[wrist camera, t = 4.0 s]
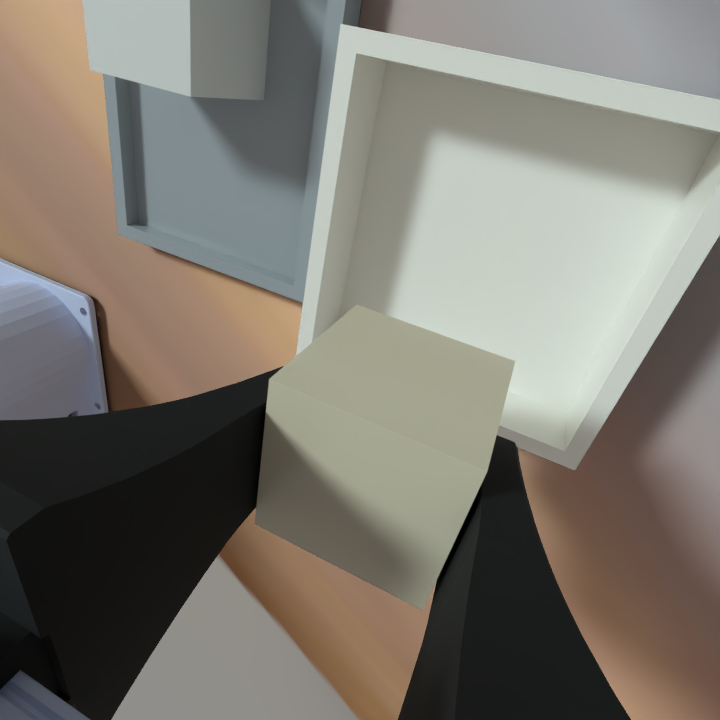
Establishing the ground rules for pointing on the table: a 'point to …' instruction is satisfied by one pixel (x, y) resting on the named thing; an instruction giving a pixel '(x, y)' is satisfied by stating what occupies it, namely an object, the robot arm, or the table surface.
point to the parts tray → (233, 157)
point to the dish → (513, 218)
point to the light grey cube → (182, 44)
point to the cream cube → (379, 448)
